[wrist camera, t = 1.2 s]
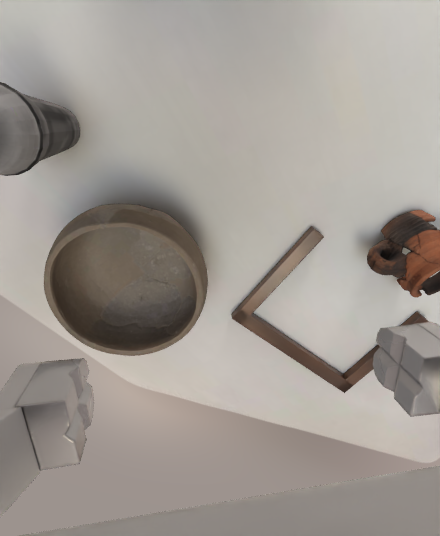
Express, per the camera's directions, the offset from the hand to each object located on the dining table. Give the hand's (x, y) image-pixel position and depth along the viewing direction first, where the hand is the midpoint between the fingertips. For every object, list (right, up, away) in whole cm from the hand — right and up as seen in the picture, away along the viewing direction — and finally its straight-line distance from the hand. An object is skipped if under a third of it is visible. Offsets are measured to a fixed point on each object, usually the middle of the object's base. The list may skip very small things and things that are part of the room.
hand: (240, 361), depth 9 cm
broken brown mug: (+23, +5, +34) cm, 42 cm away
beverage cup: (-19, +19, +29) cm, 39 cm away
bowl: (-11, +4, +35) cm, 37 cm away
